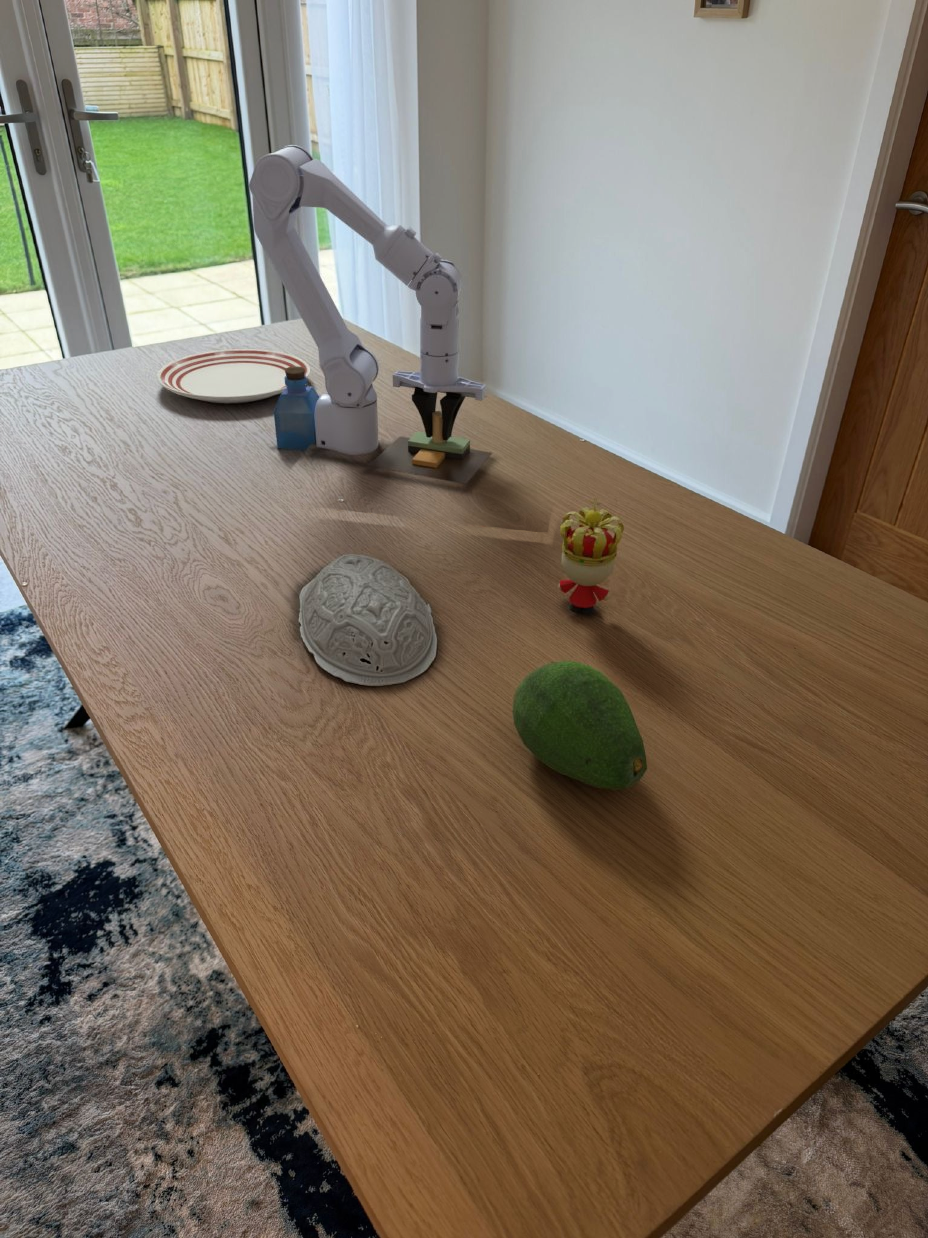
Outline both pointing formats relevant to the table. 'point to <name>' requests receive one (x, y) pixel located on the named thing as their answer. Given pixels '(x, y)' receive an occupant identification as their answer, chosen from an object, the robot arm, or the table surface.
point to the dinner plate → (229, 375)
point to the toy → (588, 556)
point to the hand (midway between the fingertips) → (438, 436)
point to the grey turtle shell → (366, 622)
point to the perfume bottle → (296, 412)
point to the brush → (439, 441)
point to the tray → (447, 470)
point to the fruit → (579, 725)
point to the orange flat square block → (428, 458)
